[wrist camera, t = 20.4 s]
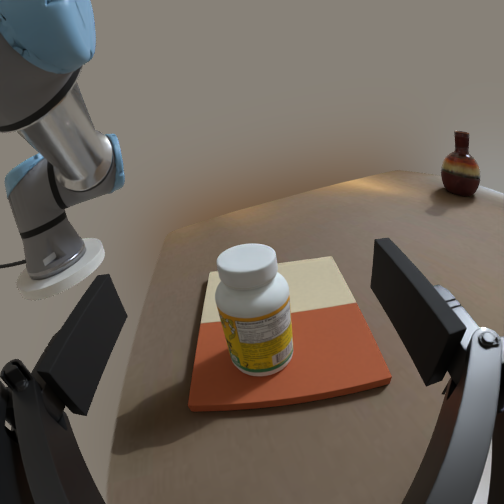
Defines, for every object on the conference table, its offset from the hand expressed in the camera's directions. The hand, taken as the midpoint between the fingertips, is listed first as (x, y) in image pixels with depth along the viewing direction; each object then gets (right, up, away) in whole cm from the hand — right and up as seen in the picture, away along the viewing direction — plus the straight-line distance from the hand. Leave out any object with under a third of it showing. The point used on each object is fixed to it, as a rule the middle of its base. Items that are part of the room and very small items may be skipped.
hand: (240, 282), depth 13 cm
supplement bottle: (+1, -8, +10) cm, 13 cm away
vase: (+53, +16, +43) cm, 70 cm away
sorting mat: (+3, -6, +15) cm, 16 cm away
